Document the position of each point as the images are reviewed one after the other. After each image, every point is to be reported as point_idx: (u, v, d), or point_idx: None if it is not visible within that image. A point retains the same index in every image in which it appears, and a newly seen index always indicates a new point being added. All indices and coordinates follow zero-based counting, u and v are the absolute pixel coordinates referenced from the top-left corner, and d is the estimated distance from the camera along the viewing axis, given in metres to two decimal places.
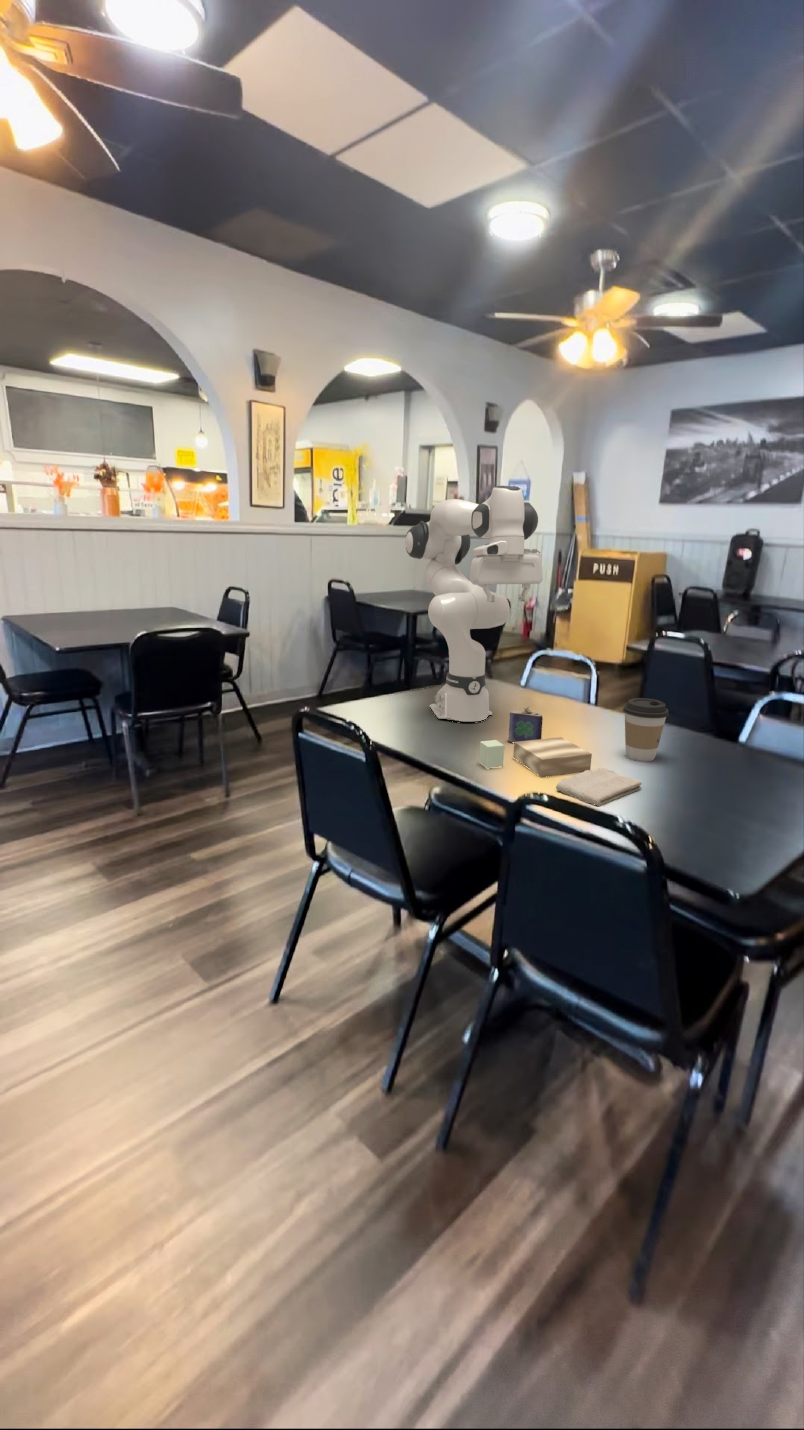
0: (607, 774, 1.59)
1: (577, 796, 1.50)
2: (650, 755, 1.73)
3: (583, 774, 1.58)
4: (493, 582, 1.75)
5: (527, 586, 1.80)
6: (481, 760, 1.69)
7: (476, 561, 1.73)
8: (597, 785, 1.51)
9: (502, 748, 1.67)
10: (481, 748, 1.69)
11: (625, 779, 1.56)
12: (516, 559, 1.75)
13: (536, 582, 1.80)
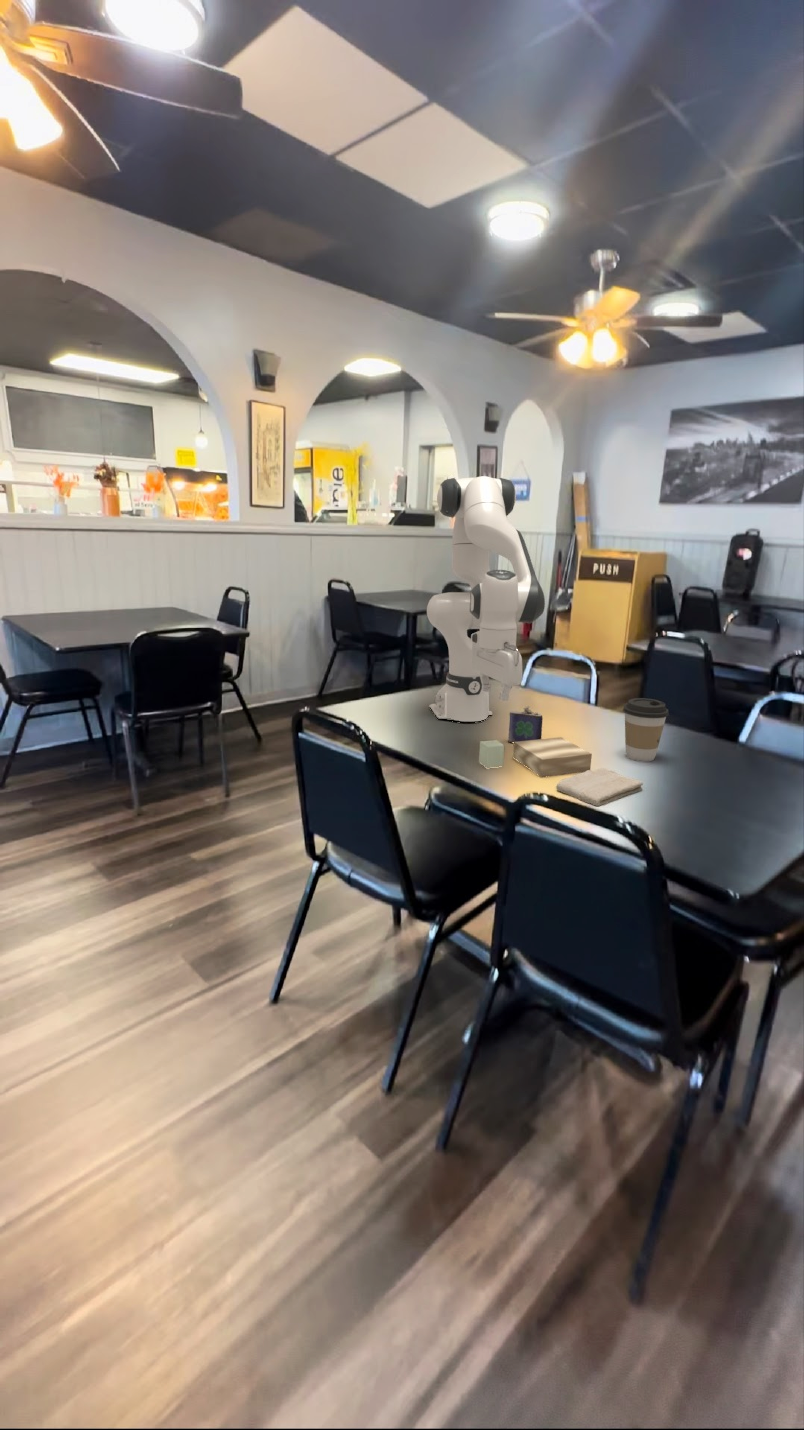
0: (609, 774, 1.59)
1: (577, 796, 1.50)
2: (650, 755, 1.73)
3: (584, 774, 1.58)
4: (480, 671, 1.67)
5: (502, 685, 1.58)
6: (481, 760, 1.69)
7: None
8: (597, 785, 1.51)
9: (502, 748, 1.67)
10: (481, 748, 1.69)
11: (626, 779, 1.55)
12: (488, 652, 1.59)
13: (505, 683, 1.55)
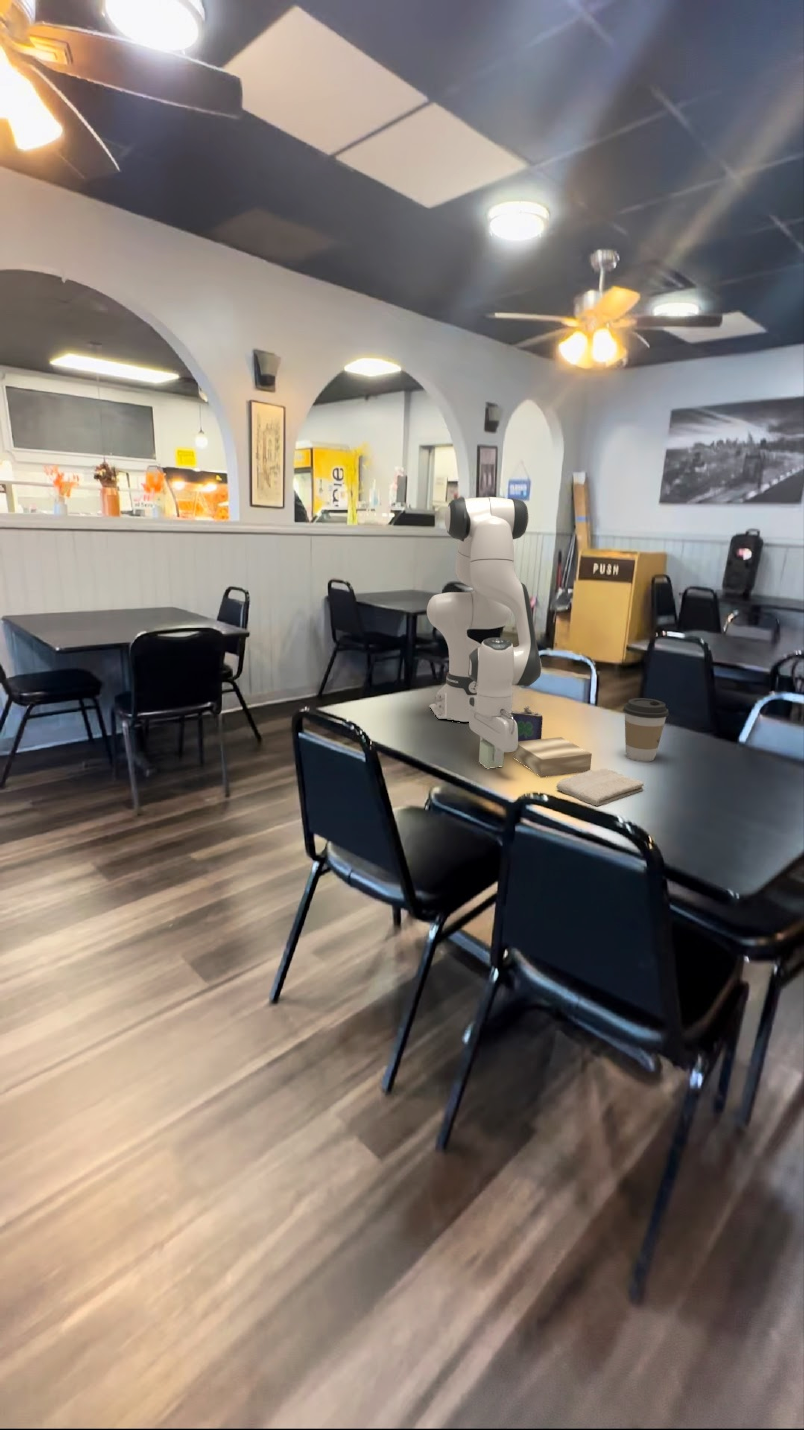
0: (610, 775, 1.58)
1: (577, 796, 1.50)
2: (650, 755, 1.73)
3: (585, 774, 1.58)
4: (477, 733, 1.71)
5: (495, 748, 1.64)
6: (481, 760, 1.69)
7: None
8: (597, 785, 1.51)
9: None
10: (481, 748, 1.69)
11: (627, 780, 1.55)
12: (485, 718, 1.64)
13: (501, 749, 1.60)
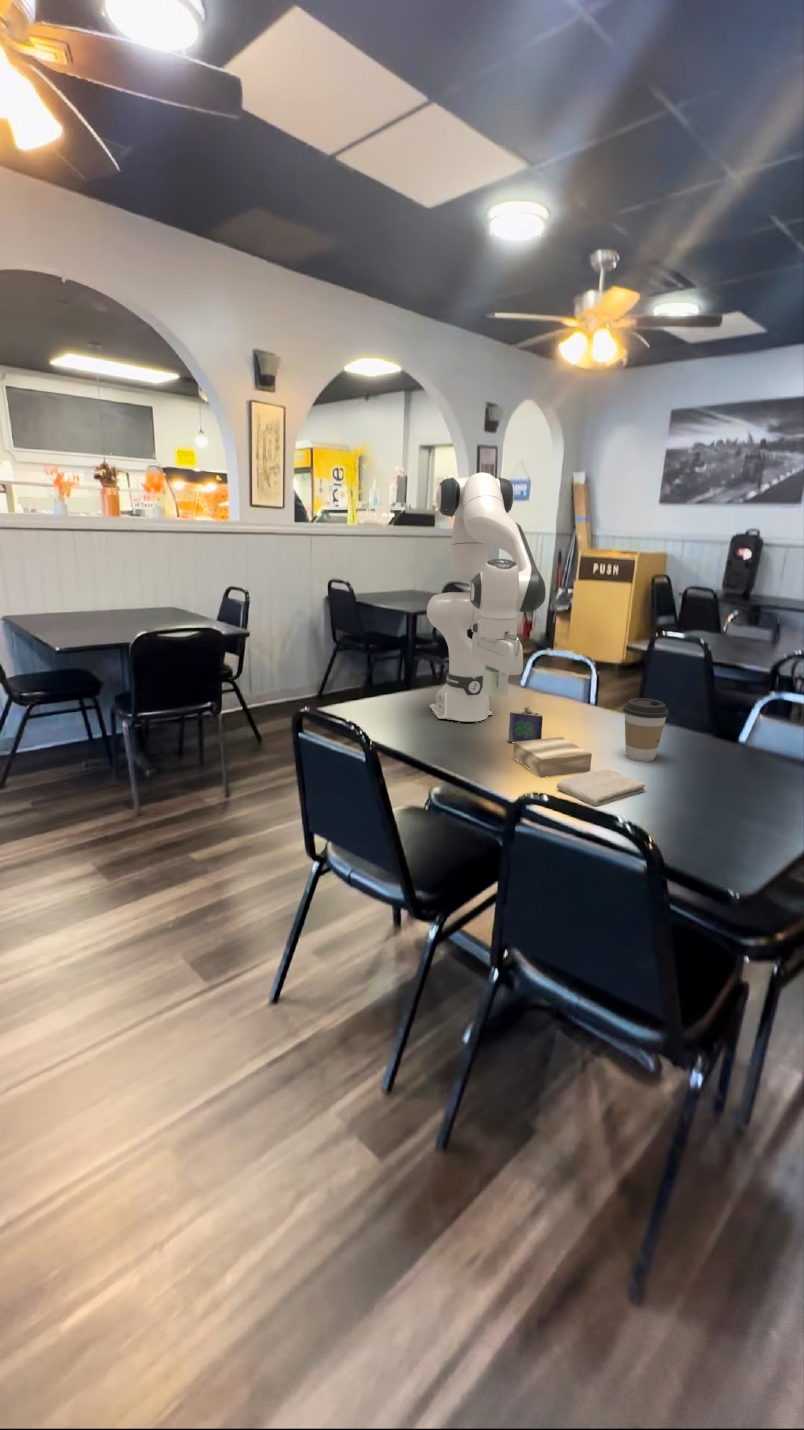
0: (612, 775, 1.58)
1: (576, 796, 1.50)
2: (650, 755, 1.73)
3: (586, 774, 1.58)
4: (481, 661, 1.66)
5: (499, 673, 1.59)
6: (485, 688, 1.64)
7: None
8: (598, 785, 1.51)
9: None
10: (485, 675, 1.63)
11: (629, 780, 1.55)
12: (489, 642, 1.59)
13: (505, 673, 1.54)
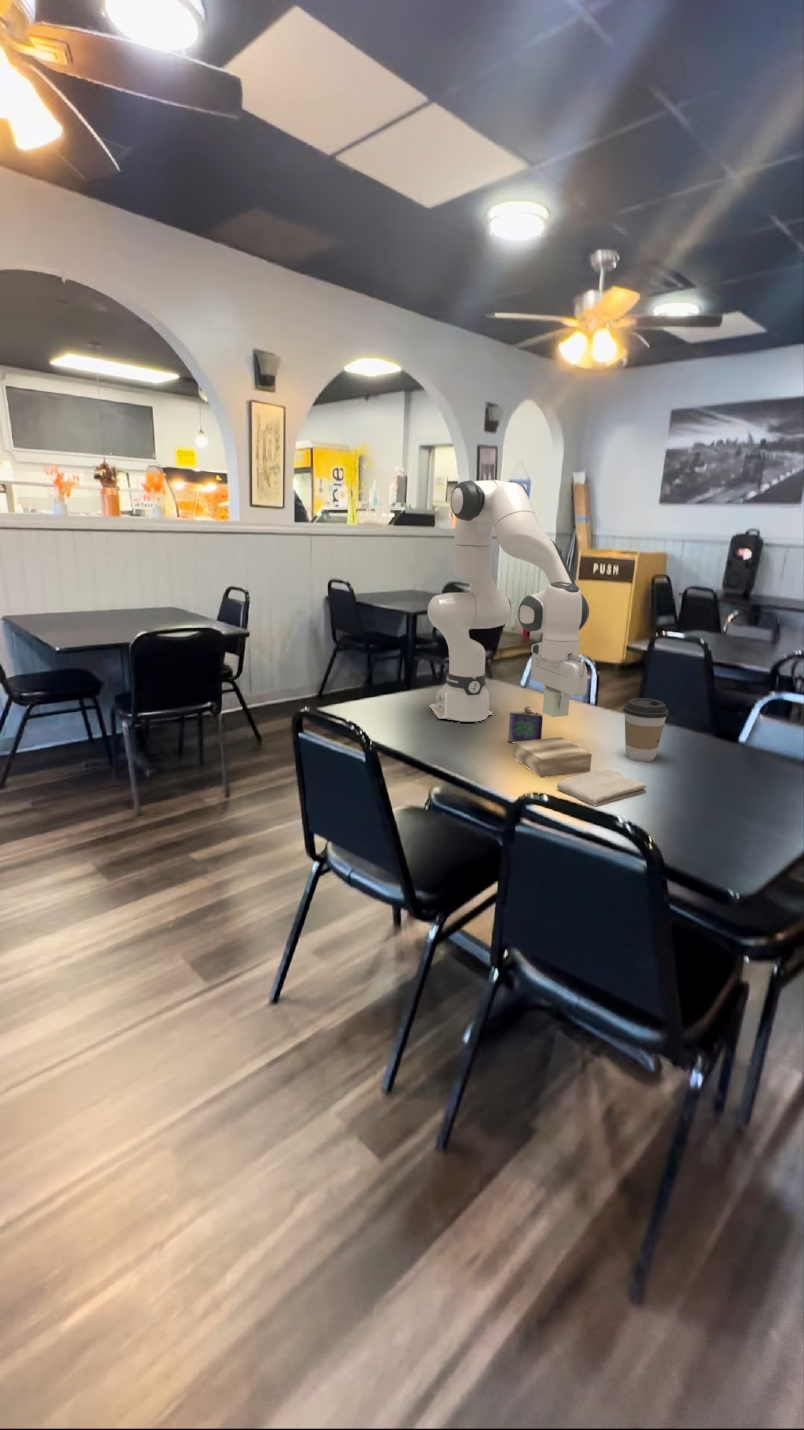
0: (613, 776, 1.58)
1: (576, 795, 1.50)
2: (650, 755, 1.73)
3: (587, 774, 1.58)
4: (541, 681, 1.69)
5: (562, 694, 1.61)
6: (545, 708, 1.66)
7: None
8: (598, 786, 1.51)
9: None
10: (546, 696, 1.66)
11: (630, 781, 1.54)
12: (551, 663, 1.61)
13: (569, 694, 1.57)
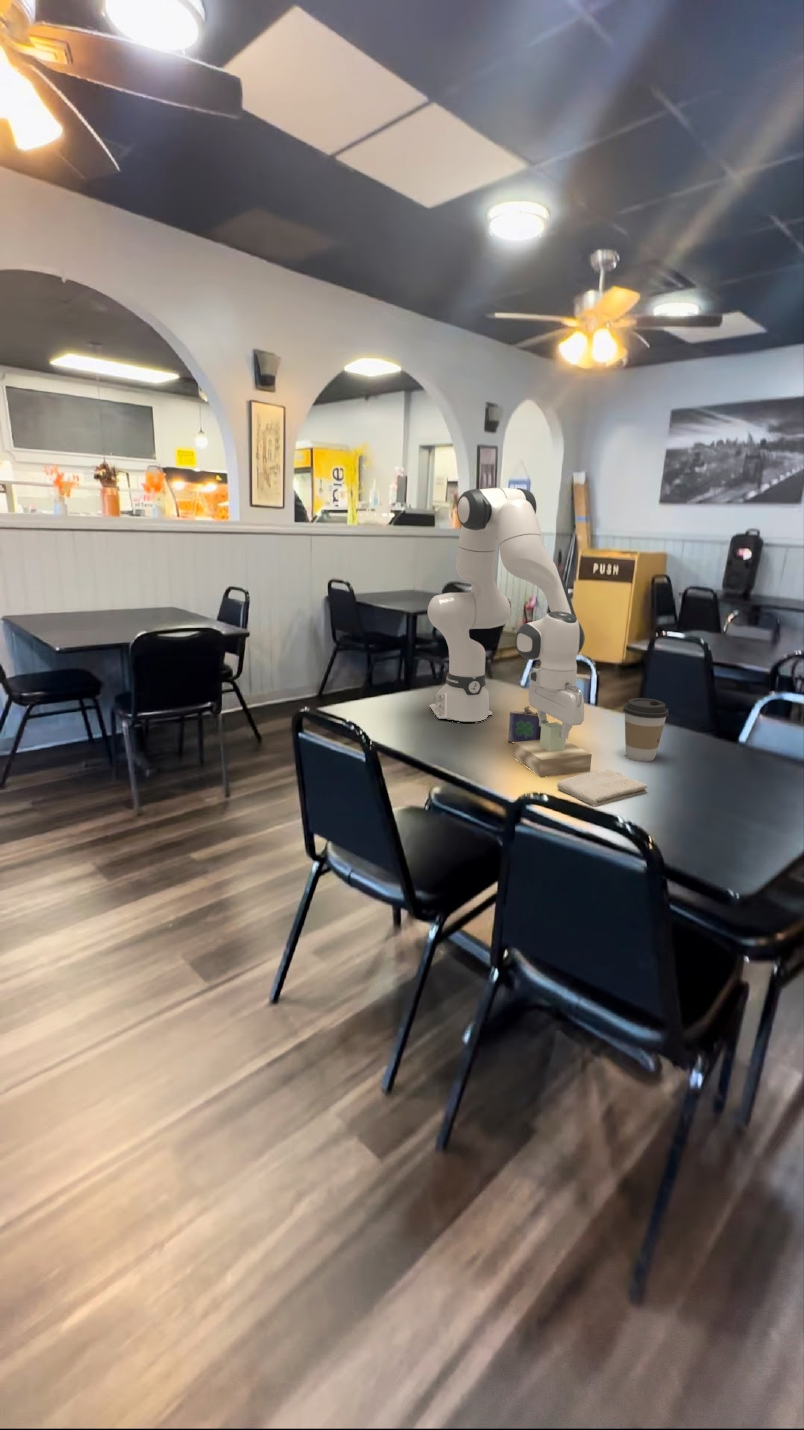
0: (614, 776, 1.58)
1: (576, 795, 1.50)
2: (650, 755, 1.73)
3: (588, 774, 1.58)
4: (538, 708, 1.71)
5: (563, 724, 1.62)
6: (542, 742, 1.69)
7: None
8: (598, 786, 1.51)
9: None
10: (543, 730, 1.69)
11: (631, 781, 1.54)
12: (549, 692, 1.63)
13: (566, 723, 1.59)
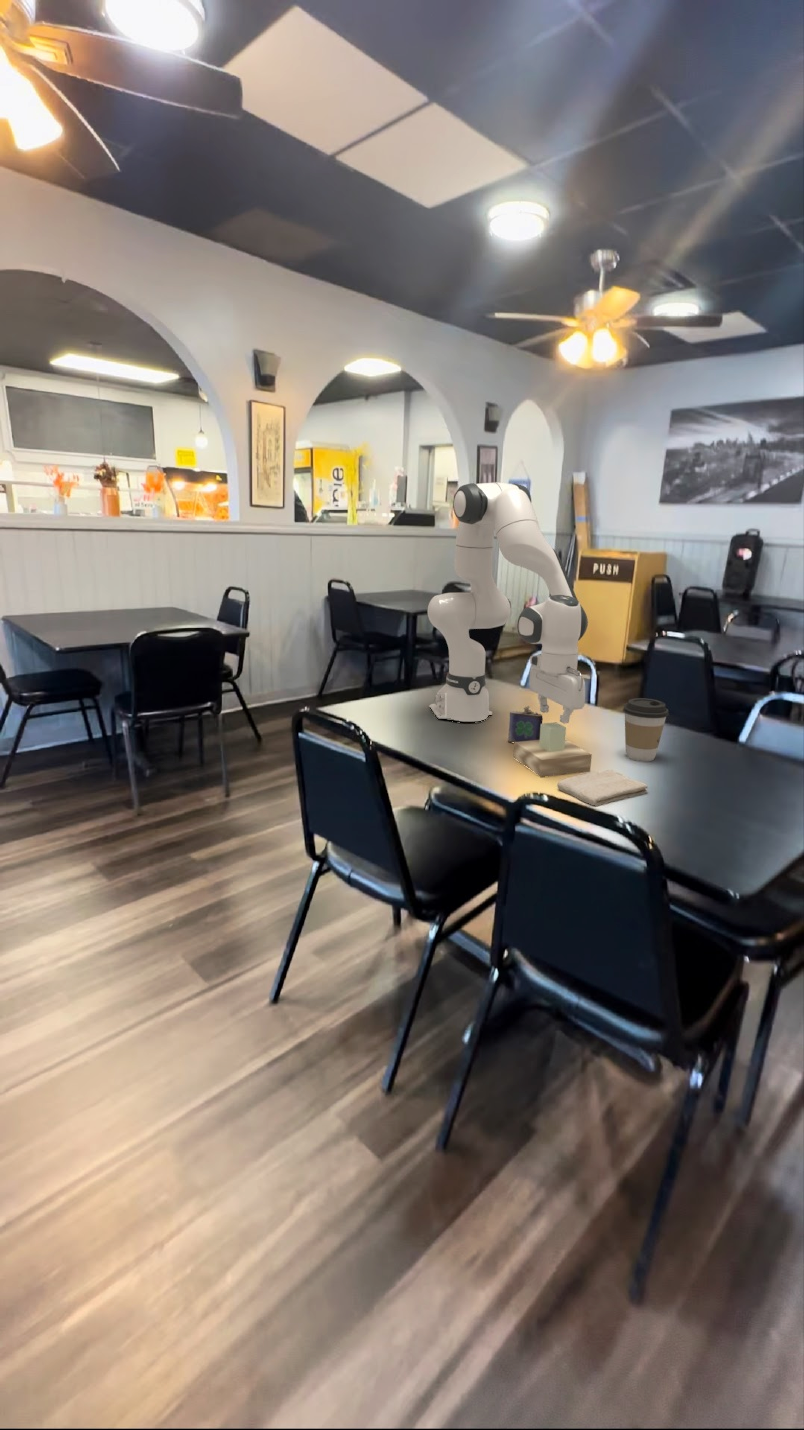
0: (614, 776, 1.58)
1: (576, 795, 1.50)
2: (650, 755, 1.73)
3: (589, 775, 1.58)
4: (539, 692, 1.70)
5: (564, 708, 1.61)
6: (542, 742, 1.69)
7: None
8: (598, 786, 1.51)
9: (564, 730, 1.66)
10: (542, 730, 1.68)
11: (631, 781, 1.54)
12: (550, 676, 1.62)
13: (567, 707, 1.58)
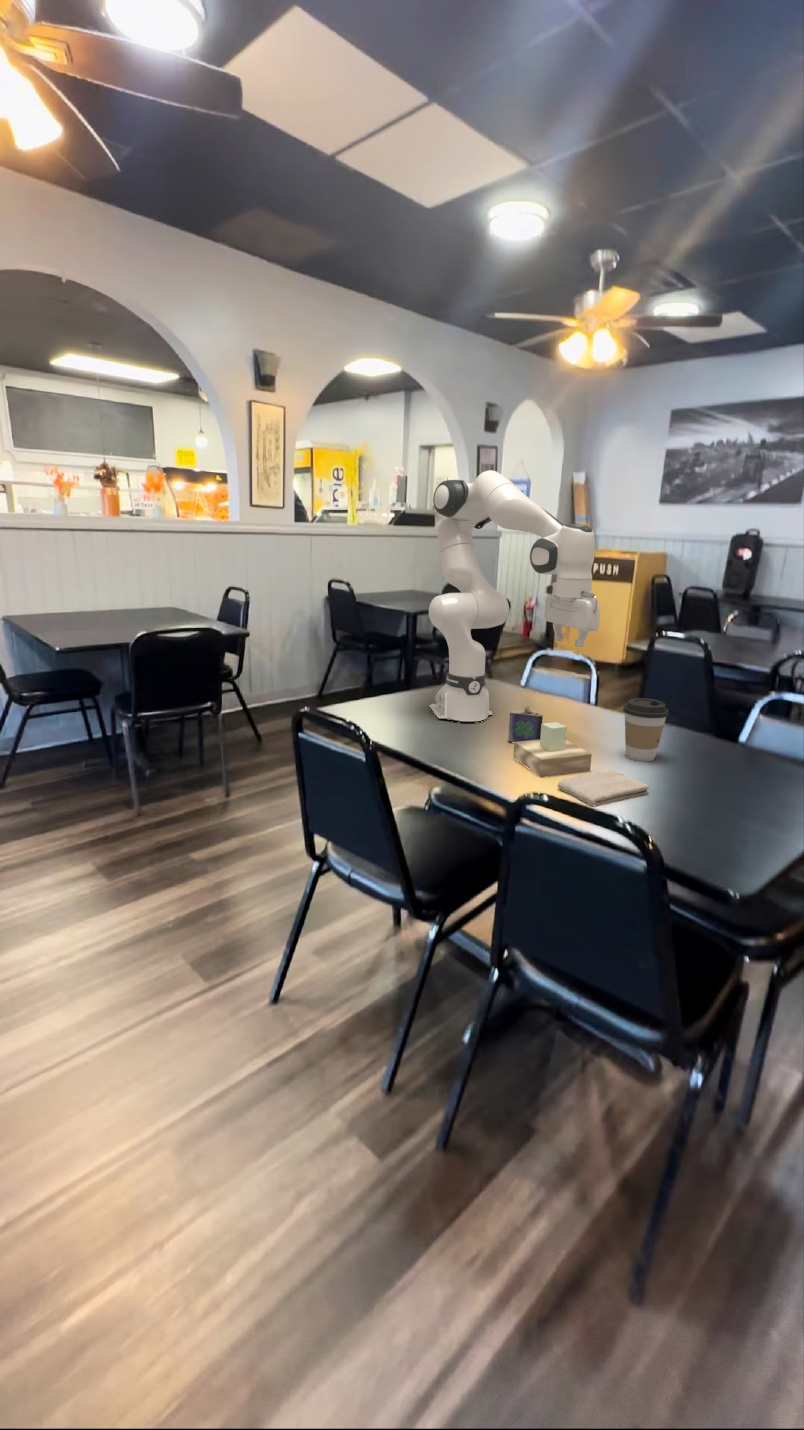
0: (616, 777, 1.57)
1: (575, 795, 1.50)
2: (650, 755, 1.73)
3: (590, 775, 1.58)
4: (554, 621, 1.77)
5: (579, 632, 1.68)
6: (543, 742, 1.69)
7: None
8: (598, 786, 1.51)
9: (565, 729, 1.67)
10: (543, 730, 1.68)
11: (632, 782, 1.54)
12: (565, 602, 1.69)
13: (582, 629, 1.65)
